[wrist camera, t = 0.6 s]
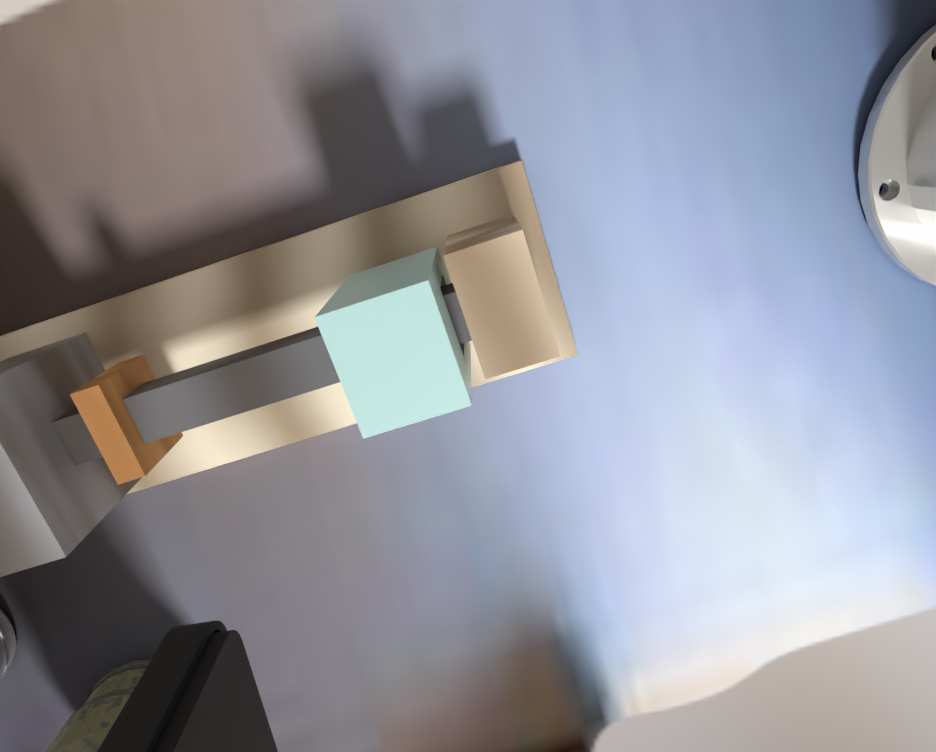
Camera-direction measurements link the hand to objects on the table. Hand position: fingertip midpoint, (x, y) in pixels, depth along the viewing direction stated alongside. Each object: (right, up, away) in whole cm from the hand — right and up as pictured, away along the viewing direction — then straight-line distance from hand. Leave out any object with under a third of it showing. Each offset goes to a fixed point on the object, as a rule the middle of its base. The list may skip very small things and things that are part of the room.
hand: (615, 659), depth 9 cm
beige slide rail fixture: (-10, +5, +25) cm, 28 cm away
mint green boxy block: (-4, +6, +23) cm, 24 cm away
